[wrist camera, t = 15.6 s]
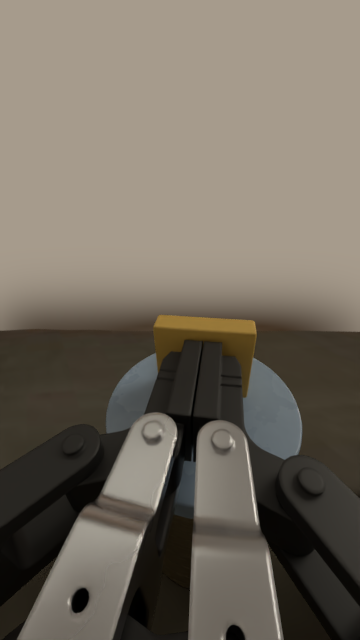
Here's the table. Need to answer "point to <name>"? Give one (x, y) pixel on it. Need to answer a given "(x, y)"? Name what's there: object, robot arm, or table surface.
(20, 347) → the table surface
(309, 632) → the table surface
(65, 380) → the table surface
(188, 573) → the blue-grey lidded canister
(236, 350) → the block
